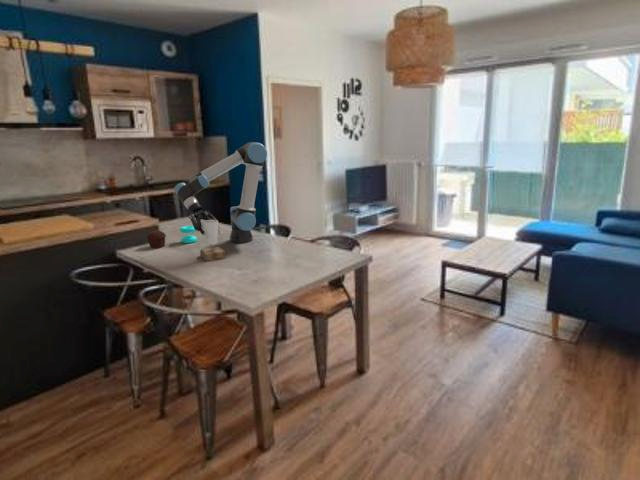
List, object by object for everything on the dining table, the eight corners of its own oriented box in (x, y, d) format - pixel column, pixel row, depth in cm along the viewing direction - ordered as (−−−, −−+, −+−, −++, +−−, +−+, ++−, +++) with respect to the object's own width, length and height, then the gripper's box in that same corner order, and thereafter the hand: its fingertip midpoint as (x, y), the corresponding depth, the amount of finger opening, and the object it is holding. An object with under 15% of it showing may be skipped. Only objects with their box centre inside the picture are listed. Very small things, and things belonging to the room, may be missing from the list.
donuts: (177, 226, 271) (192, 224, 277) (179, 241, 274) (194, 238, 279) (182, 229, 263) (197, 227, 269) (184, 244, 266) (199, 242, 271)
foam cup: (215, 246, 232) (213, 223, 228) (200, 245, 233) (198, 223, 230) (222, 241, 241) (220, 220, 237) (207, 240, 242) (206, 219, 239)
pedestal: (220, 252, 247) (220, 246, 246) (226, 257, 237) (225, 251, 236) (200, 255, 242) (199, 249, 241) (205, 261, 231) (204, 254, 230)
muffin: (154, 250, 255) (152, 234, 252) (144, 247, 261) (142, 232, 258) (170, 245, 264) (169, 230, 261) (161, 243, 270) (159, 228, 268)
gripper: (204, 207, 249) (225, 235, 245) (175, 213, 231) (197, 244, 227) (210, 199, 245) (231, 228, 241) (180, 205, 227) (202, 236, 223)
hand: (214, 236), depth 234 cm, fingers closed on foam cup, 9 cm apart
